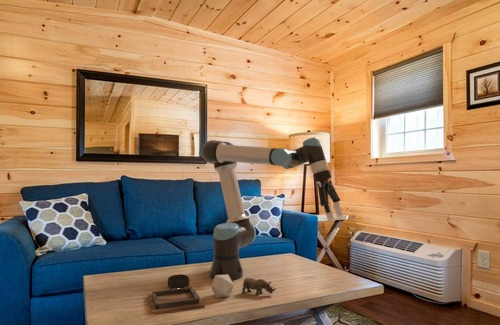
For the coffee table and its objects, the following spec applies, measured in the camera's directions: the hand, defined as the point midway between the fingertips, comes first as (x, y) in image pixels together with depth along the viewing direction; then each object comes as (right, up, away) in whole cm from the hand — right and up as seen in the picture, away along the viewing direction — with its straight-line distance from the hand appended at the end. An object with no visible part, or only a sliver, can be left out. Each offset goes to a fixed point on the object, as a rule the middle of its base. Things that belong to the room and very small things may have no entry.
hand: (336, 218), depth 152 cm
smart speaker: (-67, -28, -5) cm, 73 cm away
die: (-48, -27, -17) cm, 58 cm away
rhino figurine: (-34, -27, -15) cm, 46 cm away
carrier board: (-65, -27, -23) cm, 74 cm away
